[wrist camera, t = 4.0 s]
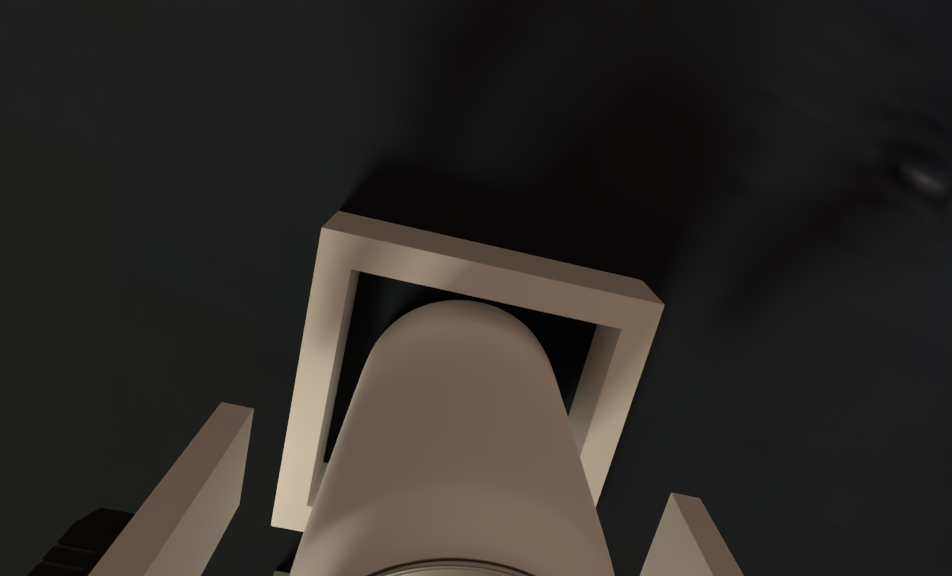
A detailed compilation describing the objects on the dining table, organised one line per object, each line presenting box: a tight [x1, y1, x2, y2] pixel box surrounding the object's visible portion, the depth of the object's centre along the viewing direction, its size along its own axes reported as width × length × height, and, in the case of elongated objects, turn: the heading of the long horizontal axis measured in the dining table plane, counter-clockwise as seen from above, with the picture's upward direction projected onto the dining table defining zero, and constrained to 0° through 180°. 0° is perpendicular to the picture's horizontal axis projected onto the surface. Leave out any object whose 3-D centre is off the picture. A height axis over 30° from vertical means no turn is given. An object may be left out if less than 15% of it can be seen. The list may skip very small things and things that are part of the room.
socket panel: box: [271, 211, 664, 576], centre depth 23 cm, size 24×10×2 cm, turn 167°
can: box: [290, 300, 615, 576], centre depth 16 cm, size 6×6×12 cm
